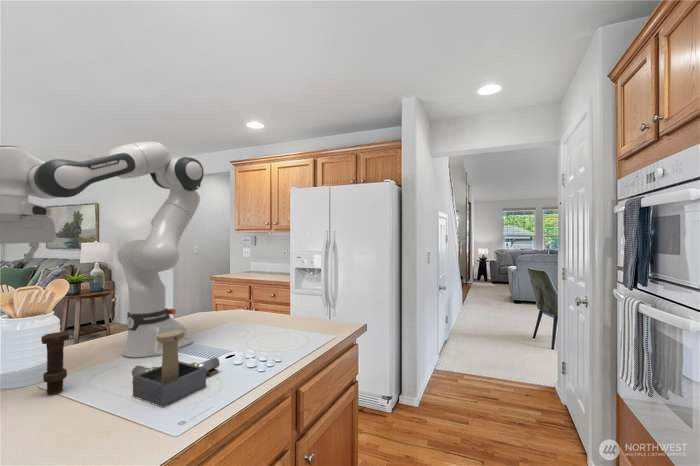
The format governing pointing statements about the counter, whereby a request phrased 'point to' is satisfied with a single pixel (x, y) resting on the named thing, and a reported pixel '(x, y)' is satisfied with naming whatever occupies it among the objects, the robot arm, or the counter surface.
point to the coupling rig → (171, 382)
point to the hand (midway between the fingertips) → (4, 261)
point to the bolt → (55, 361)
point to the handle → (170, 354)
